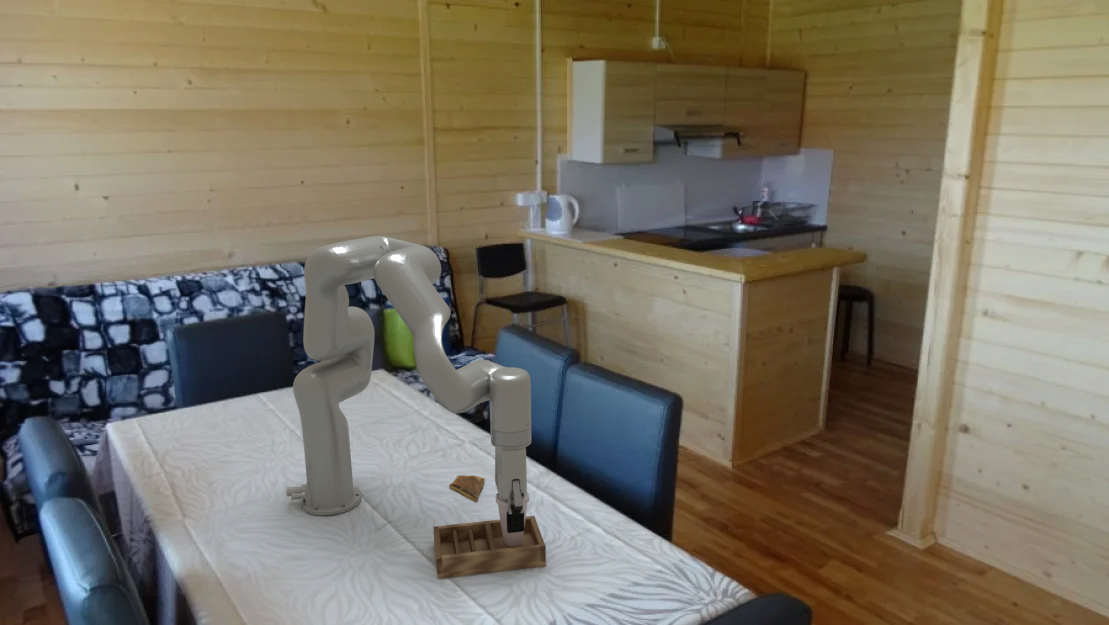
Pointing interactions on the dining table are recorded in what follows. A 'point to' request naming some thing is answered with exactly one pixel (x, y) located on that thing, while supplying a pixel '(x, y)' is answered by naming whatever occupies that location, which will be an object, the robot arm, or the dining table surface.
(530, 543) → the wooden shelf
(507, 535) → the smoothie
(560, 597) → the dining table surface
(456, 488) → the shard
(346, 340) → the robot arm
